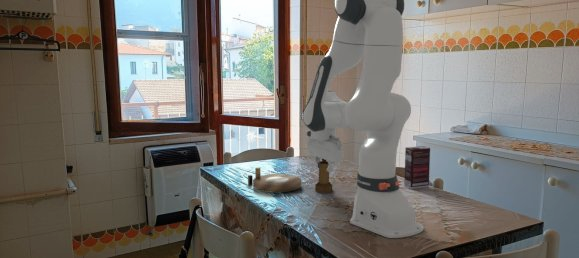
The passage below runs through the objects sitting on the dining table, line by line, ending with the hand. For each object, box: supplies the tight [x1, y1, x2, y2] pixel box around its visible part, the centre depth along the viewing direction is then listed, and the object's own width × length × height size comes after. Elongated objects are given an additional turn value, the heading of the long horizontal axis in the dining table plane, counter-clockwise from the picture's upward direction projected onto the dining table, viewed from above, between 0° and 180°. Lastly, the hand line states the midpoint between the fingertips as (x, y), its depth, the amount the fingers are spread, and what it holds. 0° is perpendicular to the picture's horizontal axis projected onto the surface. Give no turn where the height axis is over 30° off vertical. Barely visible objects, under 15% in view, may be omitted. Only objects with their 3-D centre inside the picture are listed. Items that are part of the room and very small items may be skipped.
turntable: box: [252, 167, 302, 193], centre depth 162 cm, size 19×19×6 cm
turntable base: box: [247, 174, 254, 187], centre depth 163 cm, size 15×15×4 cm
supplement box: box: [403, 145, 431, 190], centre depth 162 cm, size 9×5×16 cm, turn 109°
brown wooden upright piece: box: [314, 158, 333, 194], centre depth 157 cm, size 7×6×18 cm
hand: (324, 169), depth 157 cm, fingers open, 6 cm apart
